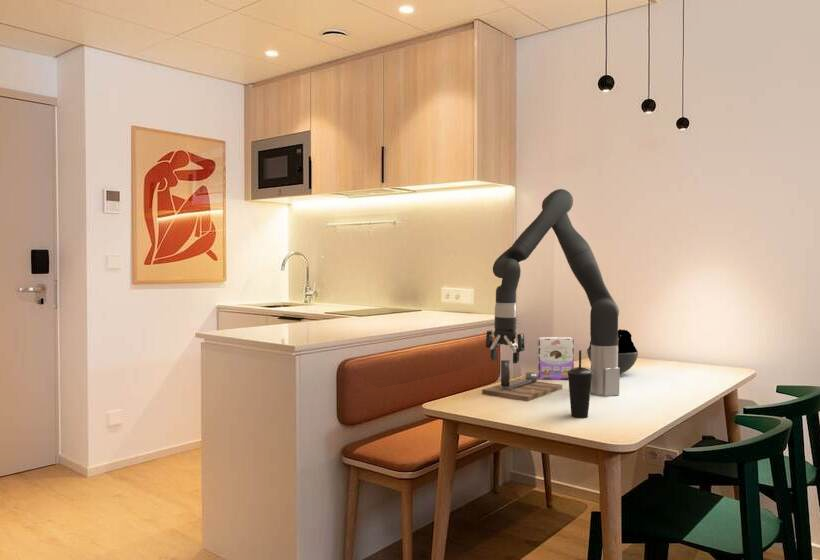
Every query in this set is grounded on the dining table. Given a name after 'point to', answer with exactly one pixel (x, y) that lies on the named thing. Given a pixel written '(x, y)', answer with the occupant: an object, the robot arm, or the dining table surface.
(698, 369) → the dining table surface
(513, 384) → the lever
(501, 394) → the board
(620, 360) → the bowl of black rocks
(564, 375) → the candy box
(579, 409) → the drinking cup
